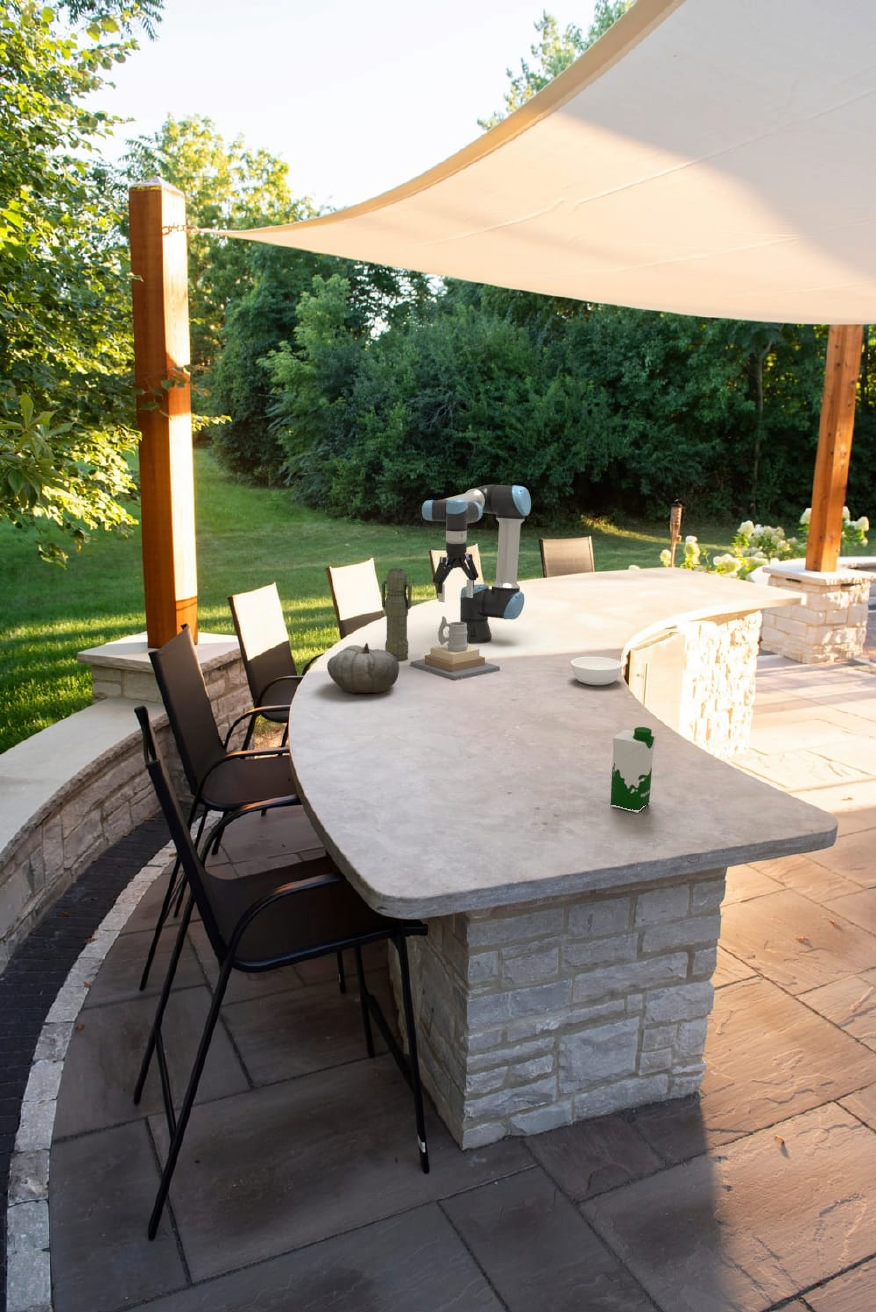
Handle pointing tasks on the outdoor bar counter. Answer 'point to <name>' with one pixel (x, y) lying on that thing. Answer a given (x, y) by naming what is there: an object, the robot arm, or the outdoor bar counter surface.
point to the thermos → (397, 612)
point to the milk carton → (632, 768)
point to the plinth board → (457, 673)
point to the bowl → (596, 670)
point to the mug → (454, 635)
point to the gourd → (363, 669)
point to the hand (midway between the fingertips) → (455, 599)
